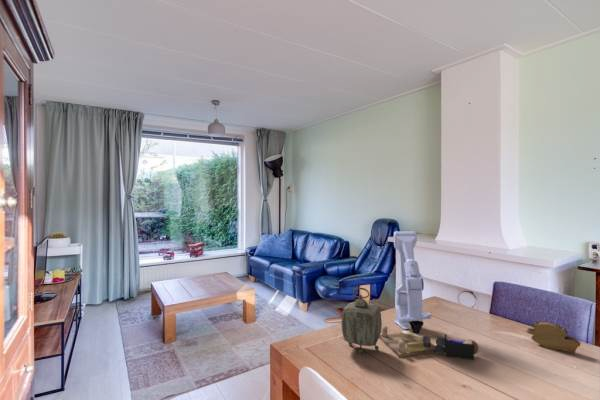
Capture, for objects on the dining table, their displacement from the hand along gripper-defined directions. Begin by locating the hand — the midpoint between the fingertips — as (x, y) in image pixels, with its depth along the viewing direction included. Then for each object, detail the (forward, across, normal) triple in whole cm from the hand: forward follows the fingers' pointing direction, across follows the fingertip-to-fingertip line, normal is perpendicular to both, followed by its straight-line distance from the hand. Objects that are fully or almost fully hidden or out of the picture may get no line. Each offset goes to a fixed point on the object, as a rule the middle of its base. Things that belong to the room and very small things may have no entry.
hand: (415, 337), depth 130 cm
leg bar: (+1, -1, -2) cm, 2 cm away
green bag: (+2, -24, +2) cm, 24 cm away
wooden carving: (+3, +46, -23) cm, 51 cm away
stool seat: (+2, -4, 0) cm, 5 cm away
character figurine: (+2, +7, -14) cm, 16 cm away
